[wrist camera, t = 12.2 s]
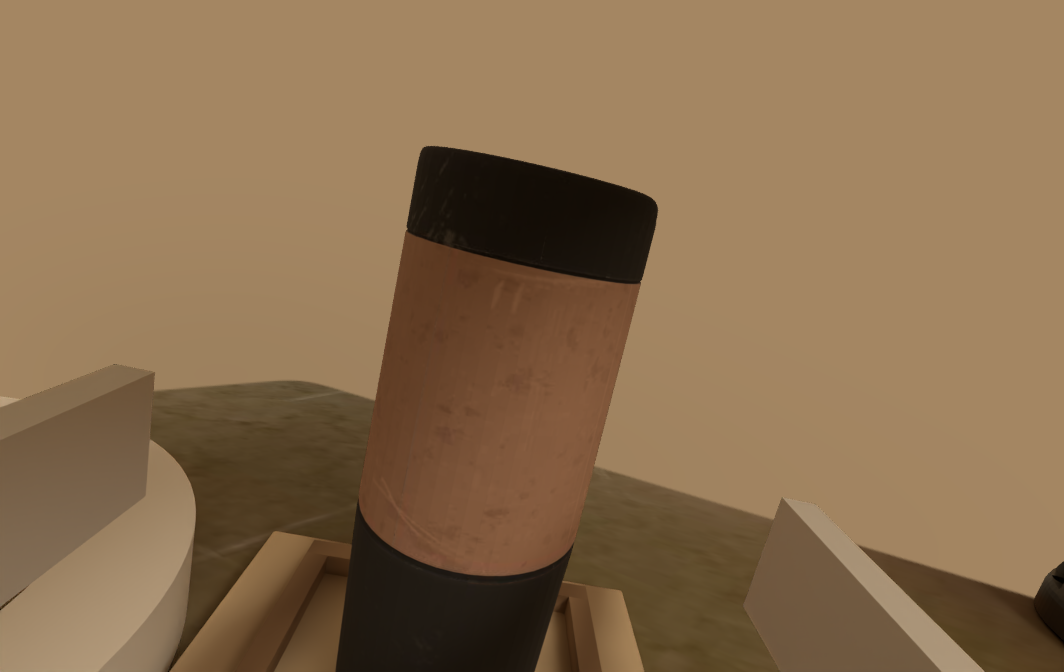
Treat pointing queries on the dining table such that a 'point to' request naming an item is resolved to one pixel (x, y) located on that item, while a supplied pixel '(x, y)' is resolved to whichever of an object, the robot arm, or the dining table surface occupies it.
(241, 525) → the dining table surface
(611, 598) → the board
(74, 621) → the ring with crossbar
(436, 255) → the travel mug
